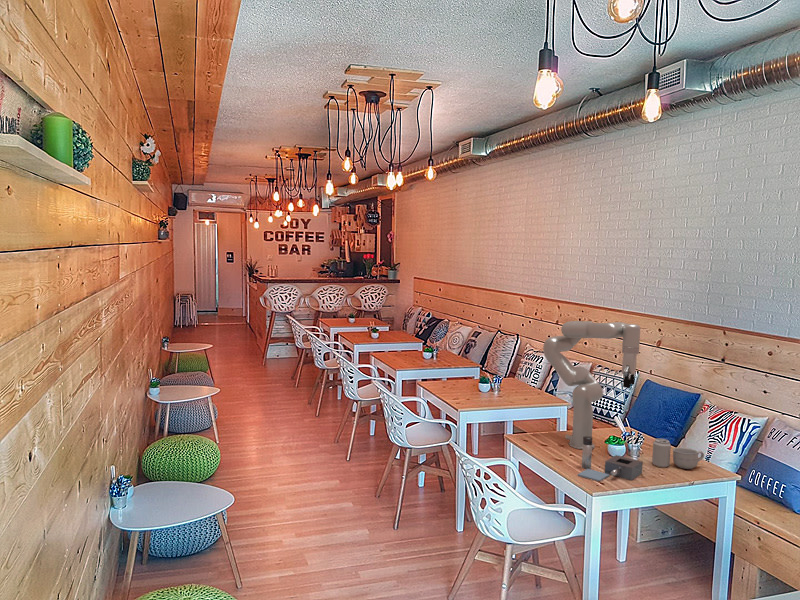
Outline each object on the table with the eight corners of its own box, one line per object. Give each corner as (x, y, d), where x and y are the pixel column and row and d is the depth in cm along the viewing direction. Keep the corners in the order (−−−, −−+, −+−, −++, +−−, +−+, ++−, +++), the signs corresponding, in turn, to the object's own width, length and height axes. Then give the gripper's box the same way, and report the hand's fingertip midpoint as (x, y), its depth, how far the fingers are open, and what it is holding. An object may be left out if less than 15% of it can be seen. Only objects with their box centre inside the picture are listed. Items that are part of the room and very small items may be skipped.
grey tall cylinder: (580, 467, 275) (581, 437, 274) (584, 465, 278) (585, 435, 277) (588, 469, 272) (590, 439, 271) (592, 467, 275) (594, 437, 274)
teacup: (676, 470, 275) (677, 452, 275) (668, 462, 286) (669, 445, 286) (708, 472, 274) (709, 455, 273) (699, 464, 284) (701, 447, 284)
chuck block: (598, 476, 264) (599, 464, 263) (615, 466, 277) (616, 455, 277) (626, 484, 256) (626, 471, 255) (641, 473, 269) (642, 461, 269)
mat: (577, 475, 264) (577, 474, 264) (587, 470, 271) (587, 468, 271) (599, 482, 257) (599, 480, 257) (609, 476, 265) (609, 474, 265)
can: (671, 468, 277) (672, 443, 276) (653, 467, 278) (655, 441, 278) (667, 463, 284) (668, 438, 283) (650, 462, 286) (651, 437, 285)
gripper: (625, 347, 295) (624, 382, 296) (618, 351, 281) (616, 387, 282) (642, 348, 291) (640, 384, 293) (635, 353, 277) (633, 390, 278)
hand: (628, 385), depth 287 cm, fingers open, 9 cm apart
